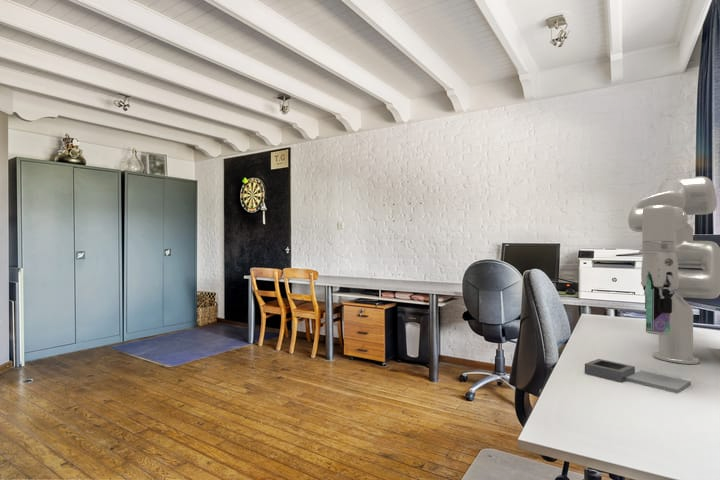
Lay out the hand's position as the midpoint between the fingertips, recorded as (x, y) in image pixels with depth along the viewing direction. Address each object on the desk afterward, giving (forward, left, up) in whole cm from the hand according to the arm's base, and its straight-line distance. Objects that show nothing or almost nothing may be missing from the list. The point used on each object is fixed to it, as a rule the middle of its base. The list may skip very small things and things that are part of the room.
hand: (658, 310), depth 113 cm
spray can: (0, 0, -7) cm, 7 cm away
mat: (0, 0, -21) cm, 21 cm away
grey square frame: (+4, -11, -21) cm, 24 cm away
